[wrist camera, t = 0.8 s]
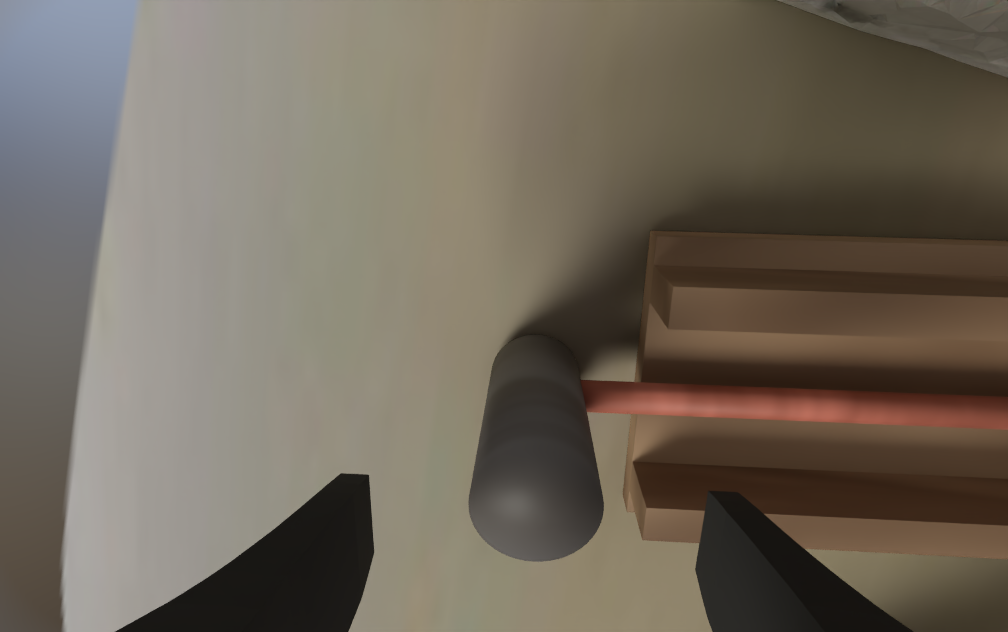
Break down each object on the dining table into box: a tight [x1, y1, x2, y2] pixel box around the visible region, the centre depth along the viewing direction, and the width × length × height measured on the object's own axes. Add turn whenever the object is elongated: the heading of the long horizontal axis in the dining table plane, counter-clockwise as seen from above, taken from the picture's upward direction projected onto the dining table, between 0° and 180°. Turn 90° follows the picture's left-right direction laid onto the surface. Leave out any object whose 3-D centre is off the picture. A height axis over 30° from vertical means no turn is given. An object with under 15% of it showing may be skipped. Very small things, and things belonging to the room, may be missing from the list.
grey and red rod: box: [469, 335, 1008, 561], centre depth 15 cm, size 5×27×7 cm, turn 89°
